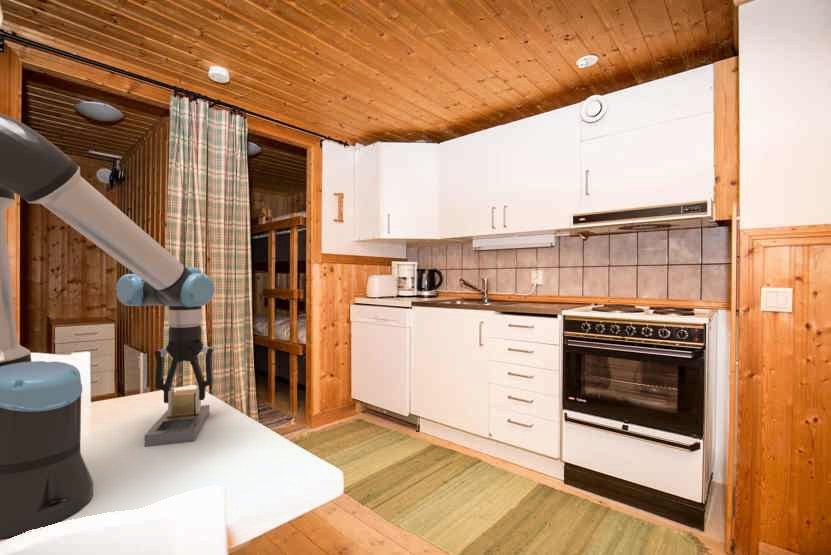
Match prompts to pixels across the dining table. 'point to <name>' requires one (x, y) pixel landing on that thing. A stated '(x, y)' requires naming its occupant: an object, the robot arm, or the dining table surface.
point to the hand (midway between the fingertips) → (184, 413)
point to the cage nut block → (184, 403)
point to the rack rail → (176, 428)
